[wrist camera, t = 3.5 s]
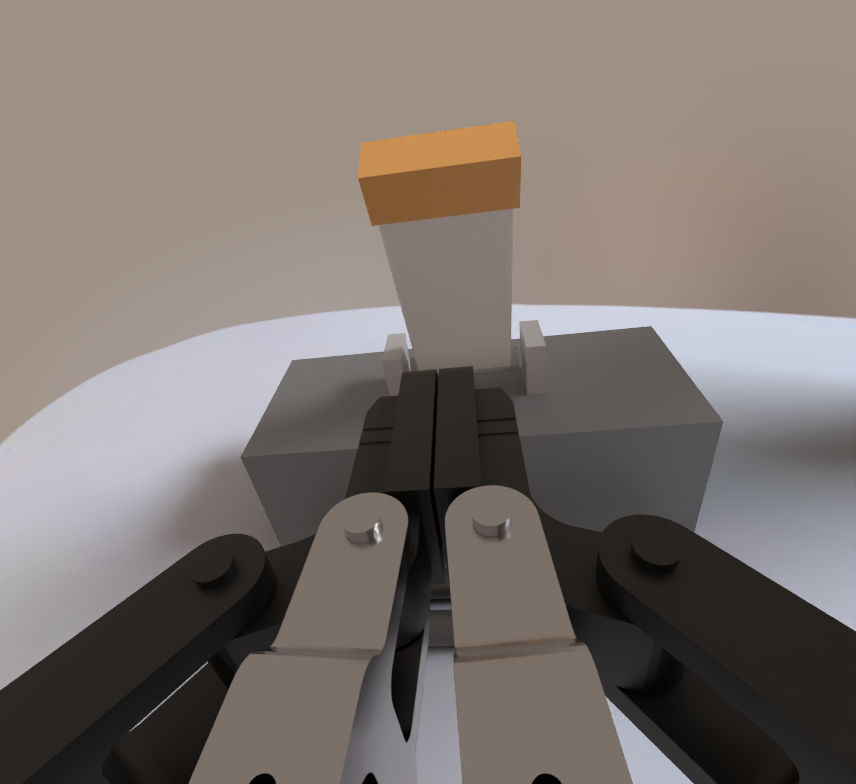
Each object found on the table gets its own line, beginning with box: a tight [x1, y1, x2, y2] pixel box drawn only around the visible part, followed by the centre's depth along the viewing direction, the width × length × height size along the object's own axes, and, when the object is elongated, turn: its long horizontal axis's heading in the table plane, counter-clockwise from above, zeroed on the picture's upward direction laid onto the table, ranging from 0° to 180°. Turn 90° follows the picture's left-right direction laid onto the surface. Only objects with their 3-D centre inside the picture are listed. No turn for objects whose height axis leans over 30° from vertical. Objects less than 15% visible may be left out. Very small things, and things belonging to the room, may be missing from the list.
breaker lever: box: [358, 121, 521, 378], centre depth 22 cm, size 2×6×14 cm, turn 89°
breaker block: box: [241, 320, 723, 647], centre depth 27 cm, size 17×24×11 cm
